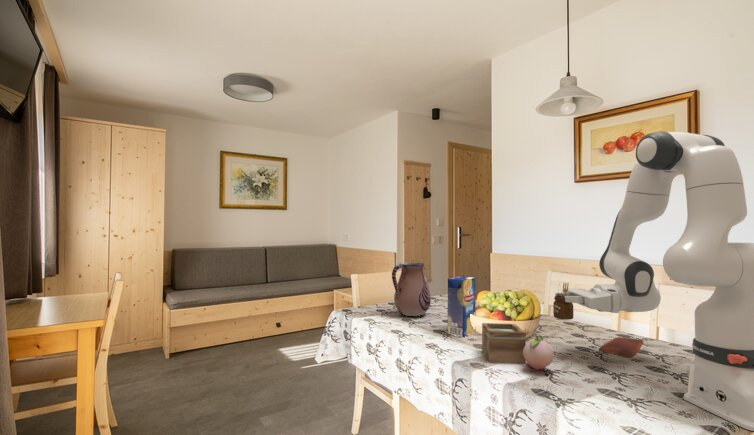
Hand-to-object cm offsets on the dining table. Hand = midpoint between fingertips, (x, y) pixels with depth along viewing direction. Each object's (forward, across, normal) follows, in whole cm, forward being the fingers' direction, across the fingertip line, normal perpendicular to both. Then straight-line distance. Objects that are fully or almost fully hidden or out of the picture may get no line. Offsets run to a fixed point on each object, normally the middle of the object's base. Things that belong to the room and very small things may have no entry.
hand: (560, 297), depth 123 cm
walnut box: (+19, +2, +19) cm, 27 cm away
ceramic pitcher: (+48, -53, +19) cm, 74 cm away
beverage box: (+28, -25, +19) cm, 43 cm away
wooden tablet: (-28, -14, +20) cm, 37 cm away
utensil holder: (-1, 0, +7) cm, 7 cm away
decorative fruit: (+12, +12, +20) cm, 26 cm away
